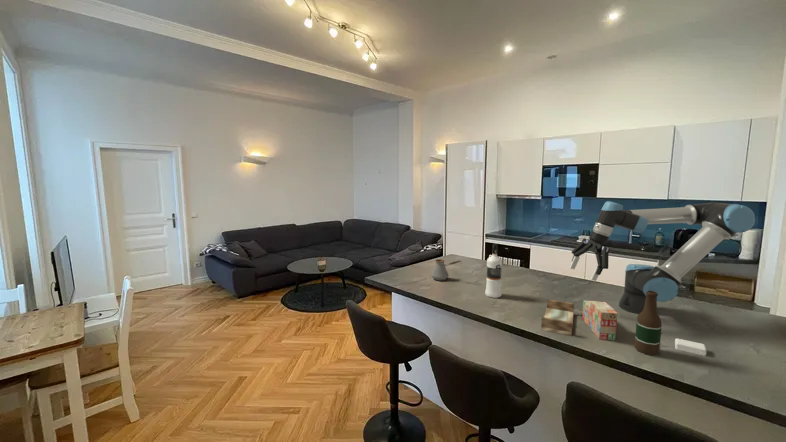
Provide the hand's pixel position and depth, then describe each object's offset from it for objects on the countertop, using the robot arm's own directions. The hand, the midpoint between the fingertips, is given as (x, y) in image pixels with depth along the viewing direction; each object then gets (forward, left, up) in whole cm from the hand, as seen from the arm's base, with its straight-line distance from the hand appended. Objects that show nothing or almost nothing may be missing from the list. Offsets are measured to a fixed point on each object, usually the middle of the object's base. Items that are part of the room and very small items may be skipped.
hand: (582, 274), depth 163 cm
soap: (-38, +17, -21) cm, 47 cm away
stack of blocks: (-7, +13, -21) cm, 26 cm away
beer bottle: (-23, +26, -21) cm, 41 cm away
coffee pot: (+78, -22, -21) cm, 83 cm away
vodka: (+44, -8, -21) cm, 49 cm away
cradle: (+9, +13, -21) cm, 26 cm away
